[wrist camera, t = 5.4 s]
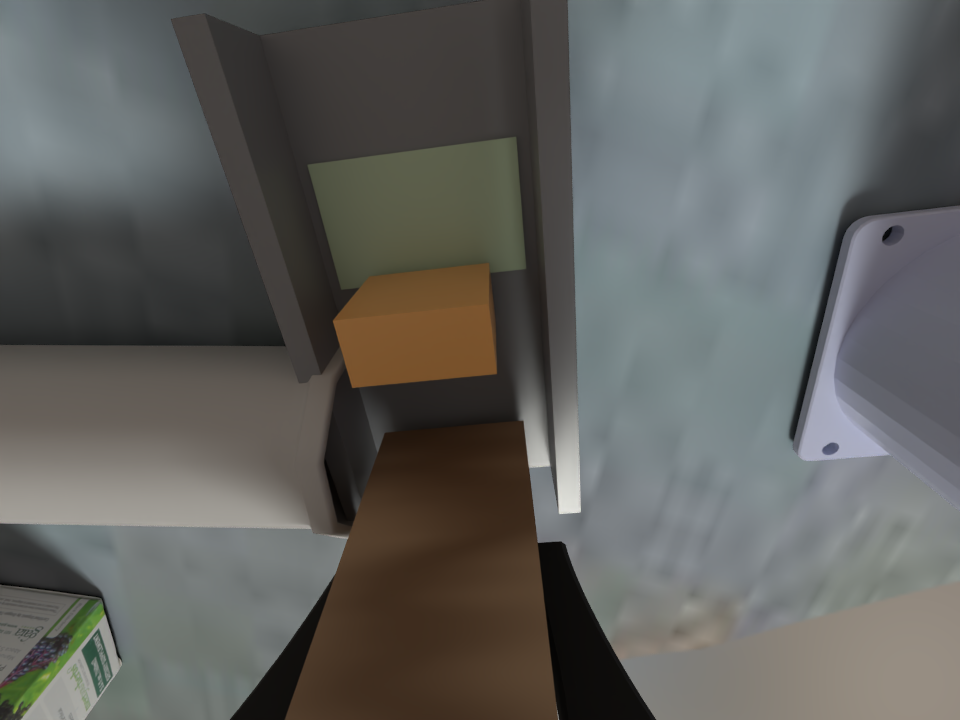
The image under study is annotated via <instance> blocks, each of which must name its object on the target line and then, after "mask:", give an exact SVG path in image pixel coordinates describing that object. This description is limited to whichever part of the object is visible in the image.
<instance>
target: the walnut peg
mask: <svg viewBox="0 0 960 720" xmlns="http://www.w3.org/2000/svg"><path fill="white" fill-rule="evenodd" d="M285 720H558V716H557V707H556V698H555V690H554V681H553V672H552V664H551V655H550V646H549V638H548V629H547V620H546V611H545V603H544V594H543V585H542V577H541V568H540V559H539V551H538V542H537V533H536V525H535V516H534V507H533V499H532V490H531V481H530V473H529V464H528V455H527V447H526V438H525V429H524V421H512V422H500V423H489V424H478V425H466V426H455V427H443V428H432V429H421V430H409V431H398V432H387V433H385V434H384V436H383V439H382V442H381V445H380V448H379V451H378V454H377V457H376V459H375V462H374V465H373V468H372V471H371V474H370V477H369V480H368V482H367V485H366V488H365V491H364V494H363V497H362V500H361V502H360V505H359V508H358V511H357V514H356V517H355V520H354V523H353V525H352V528H351V531H350V534H349V537H348V540H347V543H346V546H345V548H344V551H343V554H342V557H341V560H340V563H339V566H338V568H337V571H336V574H335V577H334V580H333V583H332V586H331V589H330V591H329V594H328V597H327V600H326V603H325V606H324V609H323V612H322V614H321V617H320V620H319V623H318V626H317V629H316V632H315V635H314V637H313V640H312V643H311V646H310V649H309V652H308V655H307V657H306V660H305V663H304V666H303V669H302V672H301V675H300V678H299V680H298V683H297V686H296V689H295V692H294V695H293V698H292V701H291V703H290V706H289V709H288V712H287V715H286V718H285Z"/></svg>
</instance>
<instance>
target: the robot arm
mask: <svg viewBox="0 0 960 720" xmlns="http://www.w3.org/2000/svg"><path fill="white" fill-rule="evenodd" d="M890 227H892V232H891V234H890V236H889V237H888V238H887V239H886V240H884V241H882V236H883V235H884V233H885V231H886V230H888V229H889V228H890ZM828 443H829V444H828ZM827 444H828V445H827ZM825 445H827V446H825ZM824 446H825V447H824ZM793 450H794V452H795V453H796V454H797V455H798V456H799V457H800V458H801V459H803V460H805V461H816V460H829V459H842V458H855V457H868V456H881V455H891V456H892V457H894V458H895V459H896V460H897V461H898V462H900V463H901V464H902V465H903V466H905V467H906V468H907V469H908V470H909V471H911V472H912V473H913V474H914V475H916V476H917V477H918V478H919V479H921V480H922V481H923V482H924V483H925V484H927V485H928V486H929V487H930V488H932V489H933V490H934V491H935V492H936V493H938V494H939V495H940V496H941V497H943V498H944V499H945V500H946V501H948V502H949V503H950V504H951V505H952V506H954V507H955V508H956V509H957V510H959V511H960V205H959V206H950V207H942V208H933V209H924V210H915V211H907V212H898V213H889V214H880V215H872V216H866V217H863V218H860V219H858V220H857V221H855V222H854V223H852V224H851V226H850V227H849V228H848V229H847V230H846V233H845V235H844V237H843V241H842V245H841V249H840V254H839V258H838V262H837V266H836V270H835V274H834V278H833V282H832V286H831V290H830V295H829V299H828V303H827V307H826V311H825V315H824V319H823V323H822V327H821V331H820V336H819V340H818V344H817V348H816V352H815V356H814V360H813V364H812V368H811V372H810V377H809V381H808V385H807V389H806V393H805V397H804V401H803V405H802V409H801V413H800V418H799V422H798V426H797V430H796V434H795V438H794V442H793ZM538 551H539V559H540V568H541V577H542V585H543V594H544V603H545V611H546V620H547V629H548V638H549V646H550V655H551V664H552V672H553V681H554V690H555V698H556V705H557V710H558V715H559V720H656V719H655V717H654V716H653V714H652V713H651V711H650V710H649V708H648V707H647V705H646V704H645V702H644V701H643V699H642V698H641V696H640V694H639V693H638V691H637V689H636V688H635V686H634V684H633V683H632V681H631V679H630V678H629V676H628V675H627V673H626V671H625V669H624V668H623V666H622V664H621V663H620V661H619V659H618V657H617V656H616V654H615V652H614V650H613V649H612V647H611V645H610V643H609V641H608V640H607V638H606V636H605V634H604V632H603V630H602V628H601V626H600V624H599V622H598V621H597V619H596V617H595V615H594V613H593V611H592V609H591V607H590V605H589V603H588V601H587V599H586V597H585V594H584V592H583V590H582V588H581V585H580V583H579V581H578V579H577V576H576V574H575V571H574V569H573V566H572V564H571V561H570V558H569V555H568V552H567V548H566V545H565V544H564V543H562V542H561V541H560V542H545V543H538ZM334 577H335V575H334ZM334 577H333V578H332V580H331V582H330V583H329V585H328V586H327V588H326V589H325V591H324V592H323V594H322V595H321V597H320V598H319V600H318V601H317V603H316V604H315V606H314V607H313V609H312V610H311V612H310V613H309V615H308V616H307V618H306V619H305V621H304V622H303V623H302V625H301V626H300V628H299V629H298V631H297V632H296V633H295V635H294V636H293V638H292V639H291V641H290V642H289V643H288V645H287V646H286V648H285V649H284V650H283V652H282V653H281V655H280V656H279V657H278V659H277V660H276V661H275V663H274V664H273V665H272V666H271V668H270V669H269V670H268V672H267V673H266V674H265V676H264V677H263V678H262V680H261V681H260V682H259V684H258V685H257V686H256V688H255V689H254V690H253V692H252V693H251V694H250V695H249V697H248V698H247V699H246V700H245V702H244V703H243V704H242V705H241V707H240V708H239V709H238V710H237V711H236V713H235V714H234V715H233V716H232V718H231V719H230V720H285V718H286V715H287V712H288V709H289V706H290V703H291V701H292V698H293V695H294V692H295V689H296V686H297V683H298V680H299V678H300V675H301V672H302V669H303V666H304V663H305V660H306V657H307V655H308V652H309V649H310V646H311V643H312V640H313V637H314V635H315V632H316V629H317V626H318V623H319V620H320V617H321V614H322V612H323V609H324V606H325V603H326V600H327V597H328V594H329V591H330V589H331V586H332V583H333V580H334Z"/></svg>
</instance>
